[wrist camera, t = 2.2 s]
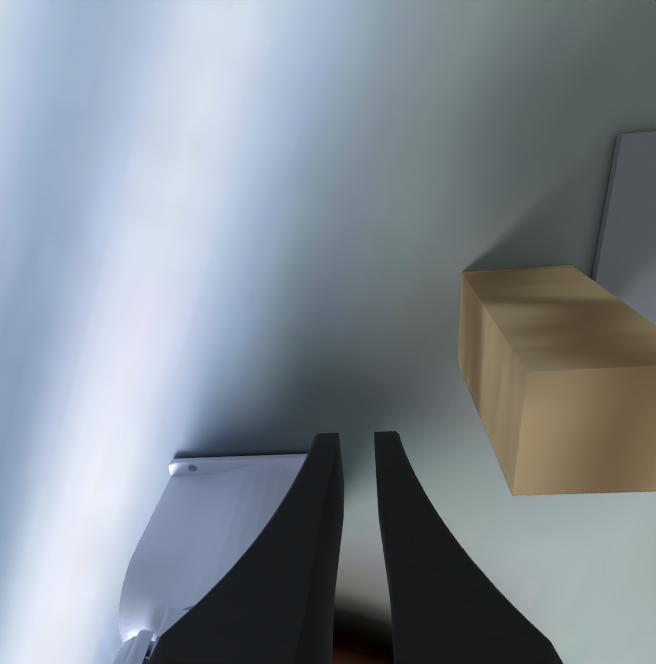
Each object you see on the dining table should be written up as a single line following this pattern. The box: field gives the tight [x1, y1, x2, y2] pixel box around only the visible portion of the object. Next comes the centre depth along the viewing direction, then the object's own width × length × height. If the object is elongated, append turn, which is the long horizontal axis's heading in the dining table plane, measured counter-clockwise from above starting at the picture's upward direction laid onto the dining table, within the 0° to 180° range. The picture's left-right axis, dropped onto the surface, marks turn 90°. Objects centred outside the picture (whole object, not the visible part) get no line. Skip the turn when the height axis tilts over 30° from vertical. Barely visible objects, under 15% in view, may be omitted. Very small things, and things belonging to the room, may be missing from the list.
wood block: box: [458, 265, 656, 496], centre depth 18 cm, size 5×5×9 cm
